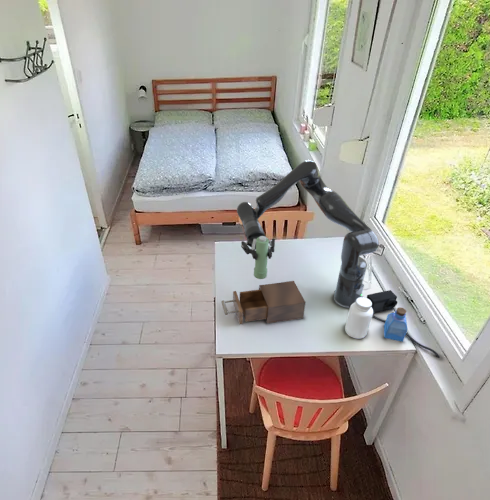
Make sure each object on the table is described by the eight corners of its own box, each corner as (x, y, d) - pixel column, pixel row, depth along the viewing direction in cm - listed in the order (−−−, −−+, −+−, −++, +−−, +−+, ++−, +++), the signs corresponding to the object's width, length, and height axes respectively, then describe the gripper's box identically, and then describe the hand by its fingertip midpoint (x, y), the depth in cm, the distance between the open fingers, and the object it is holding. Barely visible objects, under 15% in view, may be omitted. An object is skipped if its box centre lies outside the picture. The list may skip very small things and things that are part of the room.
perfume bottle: (401, 329, 143) (410, 306, 136) (402, 341, 138) (411, 318, 131) (383, 326, 145) (391, 302, 138) (384, 337, 140) (392, 314, 133)
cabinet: (267, 323, 148) (268, 307, 143) (258, 300, 159) (259, 285, 154) (303, 318, 150) (305, 302, 145) (291, 296, 160) (293, 280, 155)
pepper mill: (269, 275, 152) (272, 237, 141) (260, 281, 149) (263, 243, 139) (259, 269, 155) (262, 232, 145) (251, 274, 152) (252, 237, 142)
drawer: (226, 326, 146) (226, 313, 142) (220, 305, 156) (220, 292, 152) (273, 319, 148) (274, 307, 144) (264, 299, 158) (265, 286, 154)
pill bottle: (367, 327, 145) (376, 297, 136) (365, 342, 139) (374, 312, 130) (346, 321, 148) (353, 292, 139) (343, 335, 142) (350, 306, 133)
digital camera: (371, 316, 149) (375, 303, 145) (363, 307, 153) (367, 294, 149) (394, 311, 151) (399, 298, 147) (386, 302, 155) (390, 289, 151)
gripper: (237, 226, 155) (244, 251, 141) (271, 224, 156) (282, 247, 142) (237, 241, 159) (244, 267, 145) (270, 239, 160) (281, 263, 146)
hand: (263, 257), depth 144 cm, fingers closed on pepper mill, 4 cm apart
